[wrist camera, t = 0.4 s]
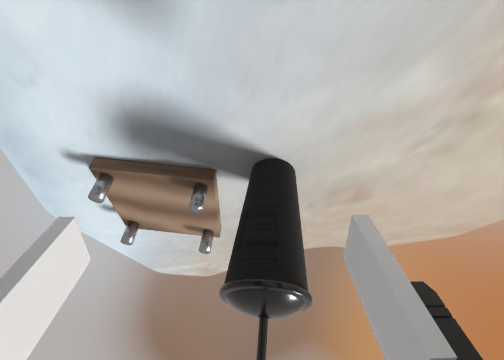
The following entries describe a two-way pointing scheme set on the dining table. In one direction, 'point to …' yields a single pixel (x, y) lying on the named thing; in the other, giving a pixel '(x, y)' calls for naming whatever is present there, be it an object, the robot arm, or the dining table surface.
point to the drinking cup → (268, 251)
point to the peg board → (159, 198)
